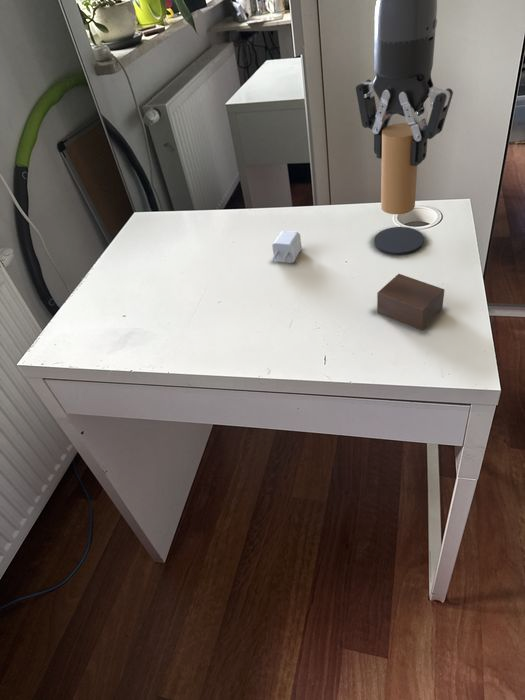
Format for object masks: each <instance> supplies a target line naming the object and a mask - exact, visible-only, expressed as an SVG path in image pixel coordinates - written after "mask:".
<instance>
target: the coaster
mask: <svg viewBox="0 0 525 700" xmlns="http://www.w3.org/2000/svg"><path fill="white" fill-rule="evenodd" d="M424 243H425V237H424V235H423V233H421V232H420V231H419V230H417V229H415V228H412V227H408V226H394V227H388V228H385V229H383V230H381V231H379V232H378V233H377V234H376V235H375V236H374V238H373V245H374V247H375V249H376V250H377V251H379V252H381V253H383V254H386V255H389V256H390V255H391V256H406V255H410V254H414V253H415V252H417V251H419V250H420V249H421V248H422V247H423V245H424Z"/></svg>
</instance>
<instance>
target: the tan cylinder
mask: <svg viewBox="0 0 525 700" xmlns="http://www.w3.org/2000/svg"><path fill="white" fill-rule="evenodd" d="M413 140H414V138H413V134H412V130H411V127H410V126H408V124H407V122H400V123H394V124H389V125H388V126H387V127H385V128H384V129H383V130H382V159H381V177H380V178H381V179H380V181H381V182H380V183H381V184H380V185H381V187H380V192H381V193H380V208H381V211H383V212H384V213H386V214H390V215H404V214H409V213H410V212H412V211H413V210H414V209H415V207H416V193H417V177H418V165H417V166H412V165H411V151H412V141H413Z"/></svg>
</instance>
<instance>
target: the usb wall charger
mask: <svg viewBox="0 0 525 700" xmlns="http://www.w3.org/2000/svg"><path fill="white" fill-rule="evenodd" d="M271 247H272V253H273V257H272V262H277V263H283V264H284V263H289V264H291V263H292V264H293V263H294V261H295V260H296V258H297V257H298V255H299V253H300V252H301V250H302V239H301V233H299V232H298V231H288V230H282V231H280V232H279V234H278V235H277V237H276V238H275V240H274V241H273V243H272V245H271Z"/></svg>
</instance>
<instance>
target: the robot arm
mask: <svg viewBox="0 0 525 700" xmlns="http://www.w3.org/2000/svg"><path fill="white" fill-rule="evenodd" d="M437 14H438V0H375V6H374V40H373V41H374V46H373V47H374V49H373V51H374V52H373V53H374V54H373V57H374V58H373V70H374V73H375V76H374V77H375V78H374V80H371V79H368V78H367V79H366V80H364V81H362V82H360V83H359V84H357V85H356V87H355V92H356V93H355V94H356V99H357V104H358V109H359V115H360V121H361V125H362V127H363V128H365V129H367V128H368V129H370V130H371V132H372V133H373V152H374V154H375V157H376V159H379V160H382V130H383V129H384V128H385V127H387V126H390V123H391V120H392V117H393V115H399V116H401V117H404V118H405V120H406V123H407V124H408V126H410V127H411V130H412V134H413V138H414V140H413V141H412V151H411V165H412V166H417V167H418V166H419V165H420V164H421V163H422V162H423V161H424V160H425V159H426V157H427V149H428V140H432V139H433V138H434V137H436V135H438V134H440V133H441V132H442V131H443V129H444V125H445V123H446V118H447V115H448V112H449V108H450V105H451V103H452V98H453V95H454V91H453V90H452V89H451V88H446V89H441V88H438V87H436V86H434V83H433V80H432V70H433V67H434V54H435V41H436V28H437V23H438V19H437V16H438V15H437ZM375 96H377V98H378V100H379V104H378V107H377V103H376V97H375ZM428 98H429V99H430V104H429V105H430V107H431V112H430V115H429V112H428V108H427V105H426V101H427V99H428ZM428 116H429V118H428Z"/></svg>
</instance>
